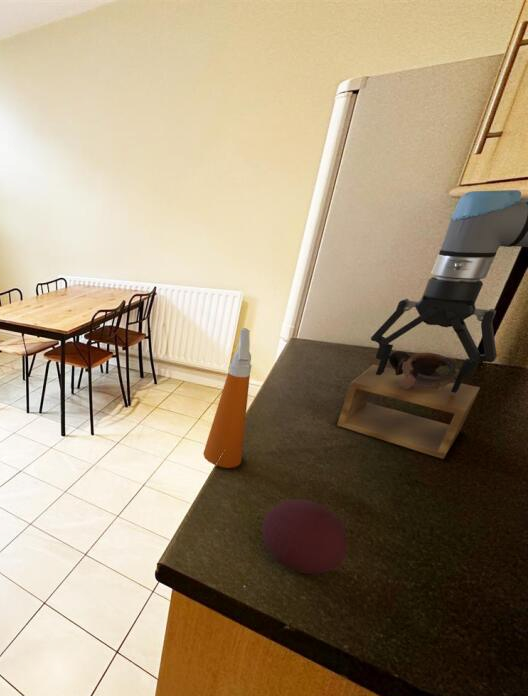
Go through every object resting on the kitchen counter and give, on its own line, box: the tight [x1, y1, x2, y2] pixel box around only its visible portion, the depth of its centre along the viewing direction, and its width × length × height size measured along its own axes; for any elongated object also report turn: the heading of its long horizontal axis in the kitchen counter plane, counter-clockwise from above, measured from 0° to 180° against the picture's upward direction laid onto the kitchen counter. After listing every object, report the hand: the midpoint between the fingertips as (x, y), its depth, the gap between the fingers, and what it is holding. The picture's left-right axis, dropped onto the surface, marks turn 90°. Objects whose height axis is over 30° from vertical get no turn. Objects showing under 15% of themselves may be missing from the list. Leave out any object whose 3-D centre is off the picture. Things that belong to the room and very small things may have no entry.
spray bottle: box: [202, 327, 252, 469], centre depth 81 cm, size 7×11×26 cm, turn 156°
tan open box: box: [336, 364, 481, 460], centre depth 91 cm, size 18×16×11 cm
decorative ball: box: [261, 498, 349, 575], centre depth 58 cm, size 10×10×10 cm
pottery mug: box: [388, 350, 457, 390], centre depth 88 cm, size 12×10×8 cm
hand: (415, 381), depth 88 cm, fingers closed on pottery mug, 11 cm apart
